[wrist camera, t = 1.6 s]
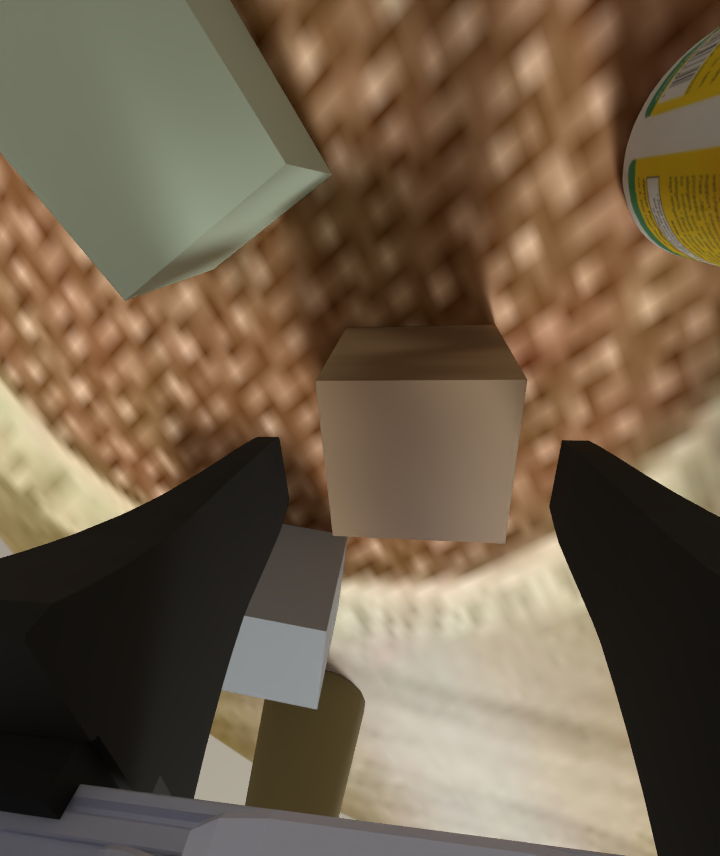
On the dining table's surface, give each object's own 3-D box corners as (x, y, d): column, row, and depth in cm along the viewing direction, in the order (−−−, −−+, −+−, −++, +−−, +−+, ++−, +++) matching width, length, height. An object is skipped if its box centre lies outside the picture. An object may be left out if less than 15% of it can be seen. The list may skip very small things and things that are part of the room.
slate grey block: (348, 534, 19) (326, 631, 15) (338, 607, 22) (317, 709, 17) (241, 514, 20) (189, 605, 15) (243, 589, 22) (199, 685, 18)
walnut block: (495, 323, 14) (526, 379, 10) (482, 452, 17) (504, 543, 12) (346, 327, 15) (315, 380, 11) (355, 450, 17) (332, 536, 13)
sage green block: (223, -13, 11) (94, -147, 7) (332, 174, 13) (286, 164, 8) (104, 120, 13) (-59, 82, 8) (214, 269, 15) (124, 300, 10)
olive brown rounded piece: (248, 675, 26) (144, 962, 16) (338, 659, 24) (281, 972, 14) (296, 730, 28) (231, 1010, 18) (381, 720, 26) (357, 1025, 17)
